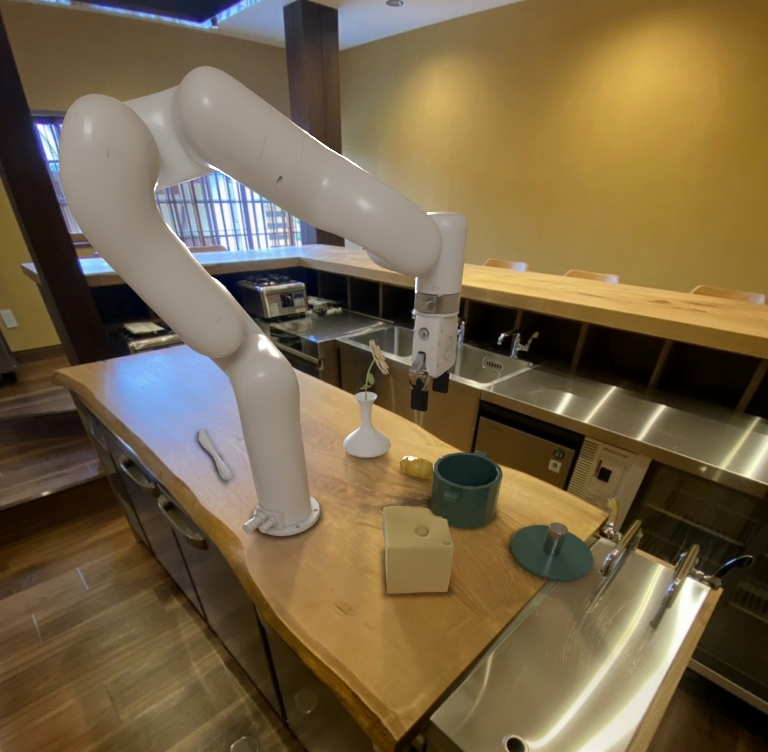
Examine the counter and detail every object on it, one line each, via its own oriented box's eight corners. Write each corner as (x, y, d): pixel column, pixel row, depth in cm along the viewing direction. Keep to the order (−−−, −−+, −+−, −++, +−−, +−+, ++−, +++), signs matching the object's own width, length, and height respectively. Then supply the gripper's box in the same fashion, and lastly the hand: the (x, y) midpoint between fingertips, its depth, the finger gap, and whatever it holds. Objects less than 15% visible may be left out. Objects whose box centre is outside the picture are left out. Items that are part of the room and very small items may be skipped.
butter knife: (218, 480, 90) (232, 475, 92) (194, 431, 109) (205, 427, 110) (219, 482, 91) (233, 478, 92) (194, 433, 109) (206, 429, 110)
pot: (505, 493, 88) (513, 456, 83) (478, 544, 76) (485, 504, 70) (448, 477, 93) (453, 441, 87) (414, 523, 80) (416, 484, 75)
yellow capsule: (436, 475, 94) (437, 458, 91) (428, 484, 91) (430, 468, 88) (404, 466, 97) (405, 450, 94) (396, 475, 94) (396, 458, 91)
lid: (596, 543, 76) (607, 517, 72) (585, 595, 67) (597, 567, 63) (520, 521, 81) (527, 495, 77) (500, 565, 72) (506, 538, 68)
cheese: (440, 549, 75) (446, 503, 69) (450, 596, 66) (457, 549, 60) (382, 550, 74) (382, 504, 68) (383, 597, 66) (384, 550, 60)
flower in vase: (378, 467, 96) (377, 355, 81) (334, 456, 100) (326, 347, 84) (400, 442, 105) (404, 337, 90) (360, 433, 109) (356, 331, 94)
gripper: (437, 316, 63) (429, 422, 74) (476, 295, 75) (464, 389, 86) (392, 310, 66) (391, 413, 76) (437, 291, 78) (430, 382, 88)
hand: (429, 400), depth 81 cm, fingers open, 9 cm apart
